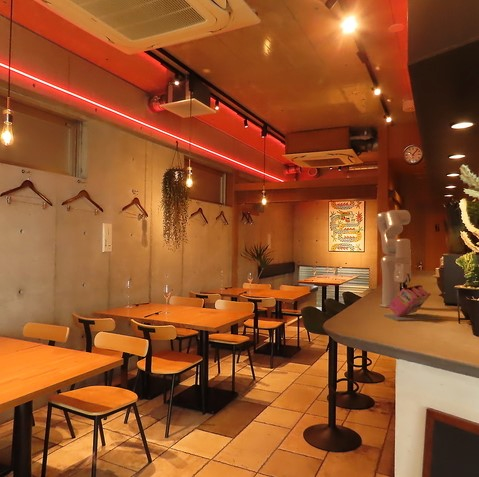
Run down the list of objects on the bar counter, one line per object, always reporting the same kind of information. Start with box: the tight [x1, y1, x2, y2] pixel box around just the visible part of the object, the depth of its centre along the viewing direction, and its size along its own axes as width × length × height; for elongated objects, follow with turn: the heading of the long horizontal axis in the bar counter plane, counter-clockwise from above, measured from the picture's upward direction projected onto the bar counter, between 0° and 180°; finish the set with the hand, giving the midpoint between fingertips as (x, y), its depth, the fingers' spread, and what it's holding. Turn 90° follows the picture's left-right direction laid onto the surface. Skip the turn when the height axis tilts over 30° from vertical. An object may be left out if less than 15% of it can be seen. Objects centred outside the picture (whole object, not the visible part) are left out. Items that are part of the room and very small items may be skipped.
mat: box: [383, 313, 443, 322], centre depth 214 cm, size 14×24×1 cm, turn 98°
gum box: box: [387, 284, 432, 317], centre depth 220 cm, size 24×8×14 cm
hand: (403, 295), depth 223 cm, fingers closed
